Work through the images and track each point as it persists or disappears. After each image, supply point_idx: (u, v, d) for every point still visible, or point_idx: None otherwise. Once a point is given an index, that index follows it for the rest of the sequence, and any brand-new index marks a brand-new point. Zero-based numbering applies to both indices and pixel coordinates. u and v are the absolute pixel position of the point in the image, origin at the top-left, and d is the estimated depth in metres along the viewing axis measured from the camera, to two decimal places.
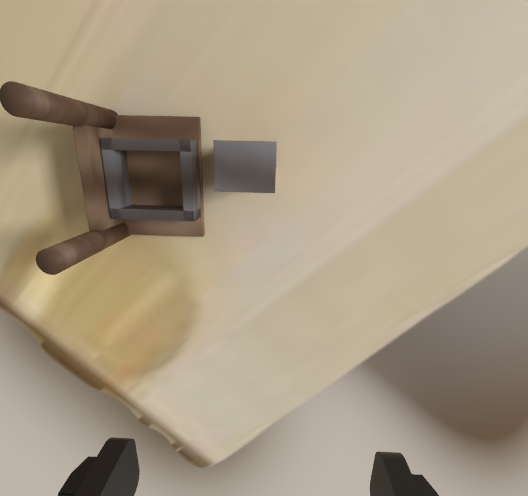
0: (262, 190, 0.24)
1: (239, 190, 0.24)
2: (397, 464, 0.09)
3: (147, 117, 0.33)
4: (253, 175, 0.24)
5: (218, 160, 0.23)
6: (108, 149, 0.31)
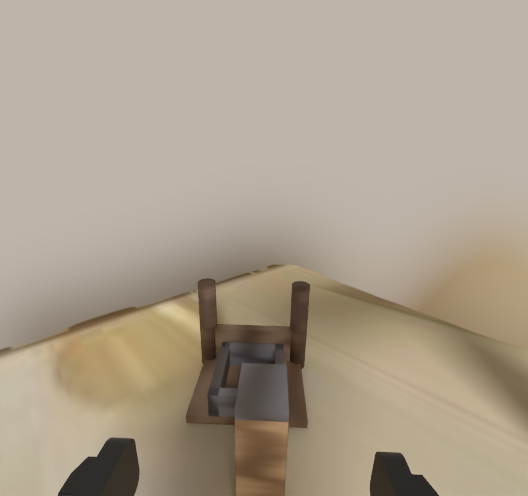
0: (238, 398, 0.22)
1: (240, 379, 0.24)
2: (397, 464, 0.09)
3: (301, 383, 0.38)
4: (254, 391, 0.23)
5: (269, 366, 0.26)
6: (275, 347, 0.41)
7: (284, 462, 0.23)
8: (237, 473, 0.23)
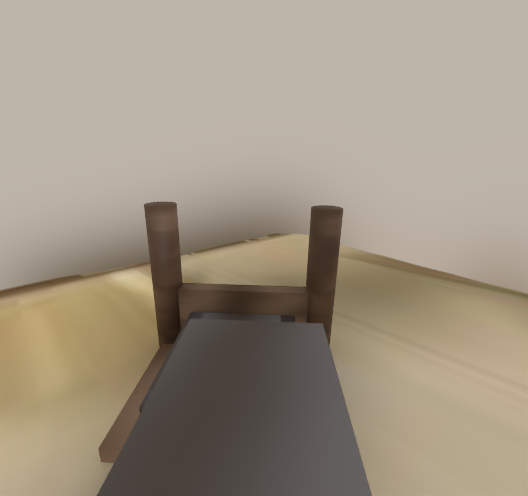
0: (135, 443, 0.05)
1: (170, 365, 0.07)
2: None
3: None
4: (213, 409, 0.06)
5: (271, 328, 0.08)
6: (281, 319, 0.24)
7: None
8: None
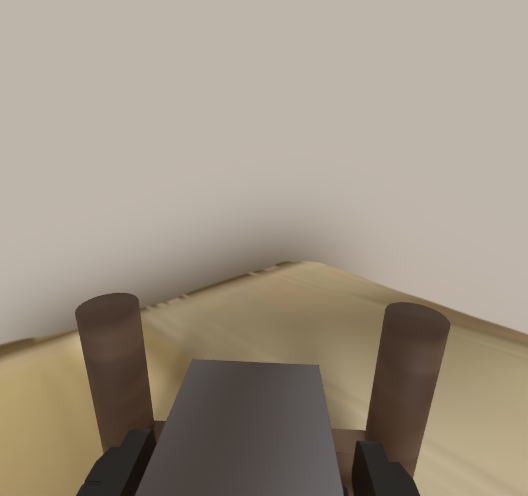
0: None
1: (174, 414, 0.07)
2: (375, 451, 0.09)
3: None
4: (213, 464, 0.06)
5: (269, 371, 0.09)
6: None
7: None
8: None
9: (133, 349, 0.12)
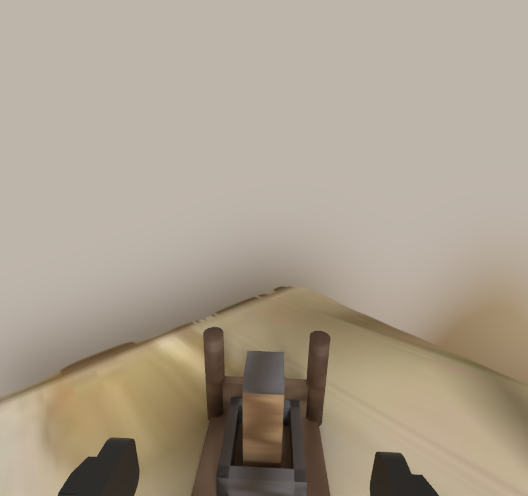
0: (245, 376, 0.28)
1: (247, 363, 0.30)
2: (397, 464, 0.09)
3: (321, 449, 0.34)
4: (258, 371, 0.29)
5: (269, 354, 0.32)
6: (290, 404, 0.36)
7: (281, 428, 0.29)
8: (244, 437, 0.29)
9: (221, 348, 0.35)
